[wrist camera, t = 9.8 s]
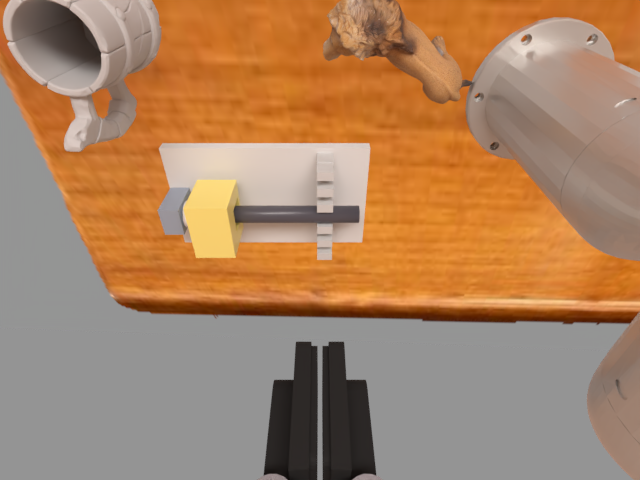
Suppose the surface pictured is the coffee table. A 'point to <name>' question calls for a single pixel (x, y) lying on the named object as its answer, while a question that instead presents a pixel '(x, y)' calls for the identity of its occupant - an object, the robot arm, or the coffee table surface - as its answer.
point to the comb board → (275, 189)
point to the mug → (85, 56)
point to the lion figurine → (393, 45)
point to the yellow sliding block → (213, 218)
